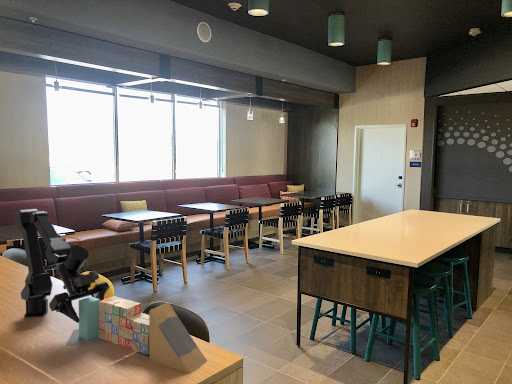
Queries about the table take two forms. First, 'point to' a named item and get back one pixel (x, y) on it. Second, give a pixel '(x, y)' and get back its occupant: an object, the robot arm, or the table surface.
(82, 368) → the table surface
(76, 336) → the charcoal mat
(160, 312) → the sandwich container
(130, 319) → the stack of blocks
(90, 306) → the teal block
